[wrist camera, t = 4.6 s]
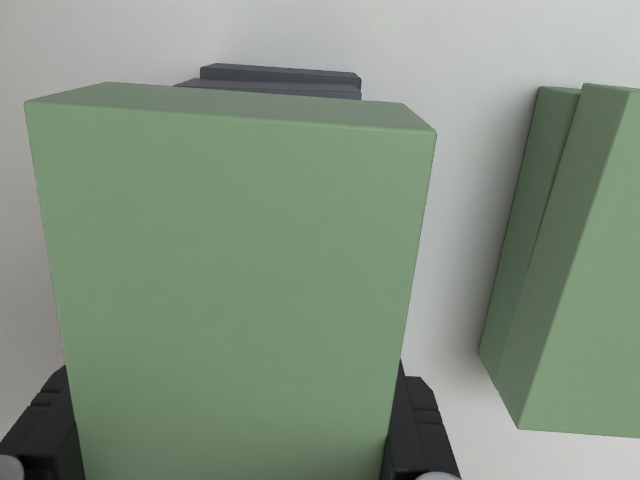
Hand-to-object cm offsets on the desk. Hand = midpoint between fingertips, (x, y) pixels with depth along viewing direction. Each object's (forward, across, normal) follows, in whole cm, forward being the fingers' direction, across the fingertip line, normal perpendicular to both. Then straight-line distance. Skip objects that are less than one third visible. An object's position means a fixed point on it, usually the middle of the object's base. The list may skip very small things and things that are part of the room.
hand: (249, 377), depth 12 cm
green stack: (+12, -14, 0) cm, 18 cm away
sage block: (0, 0, 0) cm, 0 cm away
